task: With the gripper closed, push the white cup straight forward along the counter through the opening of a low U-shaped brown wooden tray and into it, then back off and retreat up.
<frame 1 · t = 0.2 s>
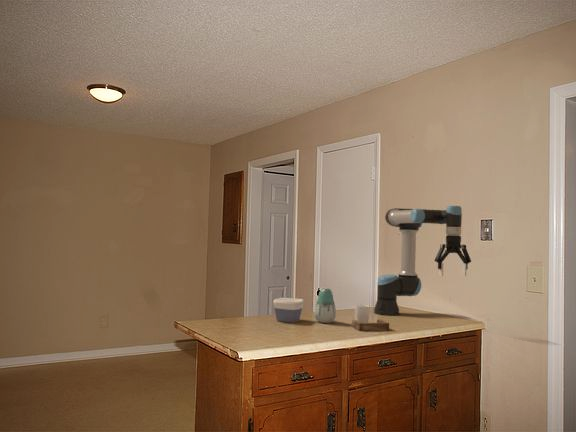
hand: (452, 275, 254), 28 cm above the counter, fingers open, 13 cm apart
brown wooden tray: (370, 328, 249), on the counter
bowl: (288, 320, 263), on the counter
vase: (324, 322, 262), on the counter
white cup: (361, 324, 259), on the counter
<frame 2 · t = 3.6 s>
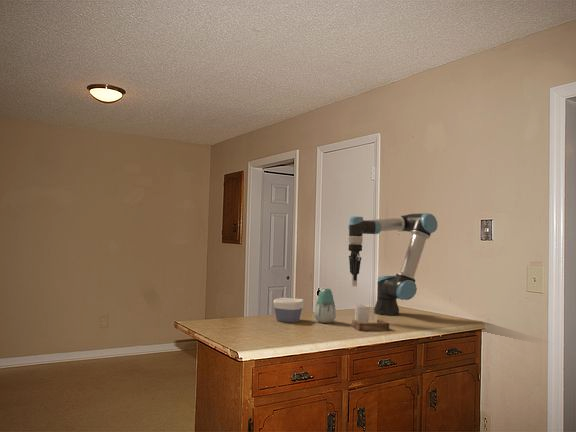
hand: (354, 286, 271), 19 cm above the counter, fingers closed
nothing on the counter moved.
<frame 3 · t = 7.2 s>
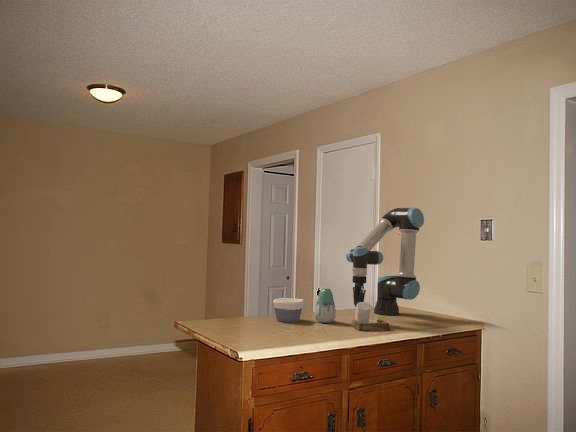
hand: (357, 319, 263), 2 cm above the counter, fingers closed
white cup: (361, 322, 259), point 1 cm above the counter, touching gripper
everything else where it was.
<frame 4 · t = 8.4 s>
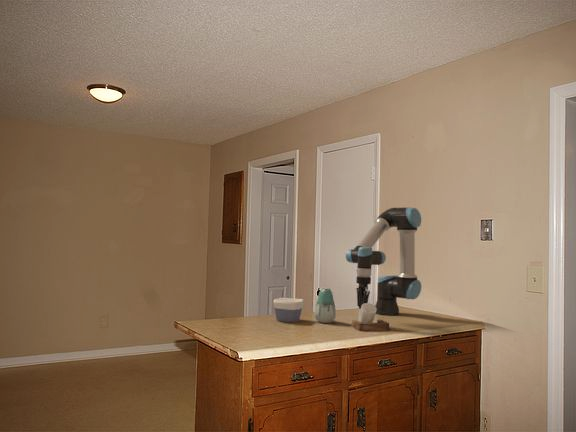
hand: (361, 320, 257), 2 cm above the counter, fingers closed
white cup: (365, 323, 254), point 1 cm above the counter, touching gripper, hand
everything else where it was.
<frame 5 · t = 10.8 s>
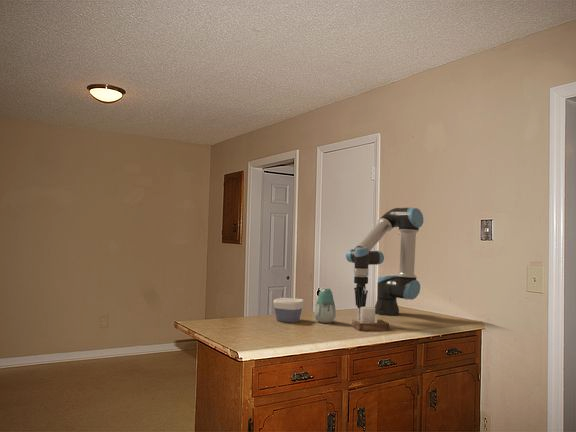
hand: (360, 319, 262), 2 cm above the counter, fingers closed
white cup: (367, 327, 252), on the counter
everything else where it was.
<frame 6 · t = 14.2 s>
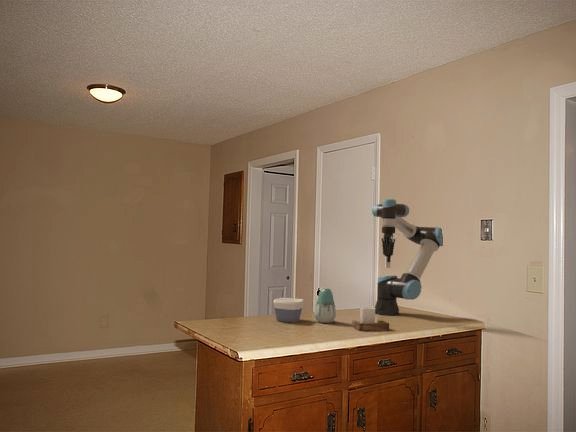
hand: (387, 267, 277), 29 cm above the counter, fingers closed
nothing on the counter moved.
at the end: white cup inside the target area (1.3 cm from its centre), on the counter; white cup tilted 0°; white cup moved 7.2 cm from its start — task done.
